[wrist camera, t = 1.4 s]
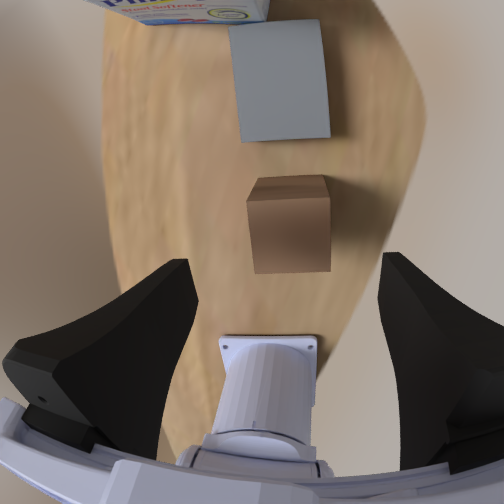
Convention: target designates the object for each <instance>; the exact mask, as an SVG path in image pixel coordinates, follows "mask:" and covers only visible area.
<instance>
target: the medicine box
mask: <svg viewBox="0 0 504 504" xmlns="http://www.w3.org/2000/svg"><path fill="white" fill-rule="evenodd" d="M84 1H87V2H90V3H93V4H96V5H98V6H101V7H104V8H106V9H109V10H111V11H114V12H116V13H119V14H122V15H124V16H127V17H129V18H131V19H134V20H136V21H138V22H140V23H143V24H145V25H159V24H183V23H216V24H241V25H245V24H253V23H262V22H267V16H268V10H269V4H270V0H84Z"/></svg>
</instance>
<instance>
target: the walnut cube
mask: <svg viewBox="0 0 504 504" xmlns="http://www.w3.org/2000/svg"><path fill="white" fill-rule="evenodd" d="M246 203H247V212H248V220H249V229H250V237H251V245H252V254H253V262H254V271H255V274H272V273H304V272H331V214H330V196H329V193H328V190H327V187H326V184H325V181H324V178H323V175H299V176H281V177H265V178H258V179H257V181H256V183H255V185H254V187H253V189H252V191H251V193H250V195H249V197H248V199H247V201H246Z"/></svg>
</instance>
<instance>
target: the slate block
mask: <svg viewBox="0 0 504 504" xmlns="http://www.w3.org/2000/svg"><path fill="white" fill-rule="evenodd" d="M228 30H229V38H230V47H231V56H232V65H233V73H234V82H235V91H236V100H237V109H238V117H239V126H240V135H241V143H244V142H255V141H268V140H284V139H303V138H331V136H330V120H329V106H328V94H327V83H326V73H325V63H324V54H323V45H322V37H321V30H320V22H319V19H304V20H285V21H272V22H262V23H253V24H245V25H238V26H231V27H228Z"/></svg>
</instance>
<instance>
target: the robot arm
mask: <svg viewBox="0 0 504 504" xmlns="http://www.w3.org/2000/svg"><path fill="white" fill-rule="evenodd" d="M198 302H199V300H198V297H197V293H196V289H195V285H194V282H193V278H192V274H191V270H190V266H189V262H188V259H172V260H170V261H169V262H167V263H166V264H164V265H163V266H161V267H160V268H158V269H157V270H156V271H154V272H153V273H151V274H150V275H149V276H147V277H146V278H145V279H143V280H142V281H141V282H139V283H138V284H136V285H135V286H134V287H132V288H131V289H129V290H128V291H126V292H125V293H123V294H122V295H120V296H119V297H118V298H116V299H115V300H113V301H111V302H110V303H108V304H106V305H105V306H103V307H101V308H99V309H98V310H96V311H94V312H92V313H90V314H88V315H86V316H84V317H82V318H80V319H78V320H76V321H74V322H71V323H69V324H67V325H64V326H62V327H59V328H56V329H54V330H51V331H48V332H45V333H42V334H38V335H35V336H31V337H27V338H24V339H20V340H18V341H17V342H16V343H15V345H14V346H13V347H12V349H11V350H10V351H9V353H8V354H7V355H6V357H5V358H4V359H3V362H2V365H3V369H4V371H5V373H6V375H7V377H8V378H9V379H10V381H11V382H12V383H13V384H14V386H15V387H16V388H17V389H18V390H19V392H20V393H21V394H22V395H23V396H24V397H25V399H26V400H27V401H28V402H29V403H30V404H29V406H28V407H27V409H26V408H24V407H23V406H22V405H20V404H18V403H16V402H14V401H12V400H10V399H8V398H6V397H3V398H2V399H1V401H0V464H1V465H3V466H4V467H5V468H7V469H8V470H9V471H11V472H12V473H13V474H15V475H16V476H18V477H19V478H21V479H22V480H24V481H25V482H27V483H28V484H30V485H32V486H33V487H35V488H37V489H38V490H40V491H42V492H44V493H45V494H47V495H48V496H50V497H52V498H54V499H56V500H57V501H59V502H61V503H63V504H504V326H502V325H500V324H498V323H496V322H494V321H492V320H490V319H488V318H487V317H485V316H483V315H481V314H479V313H477V312H476V311H474V310H473V309H471V308H469V307H468V306H466V305H465V304H463V303H462V302H460V301H459V300H457V299H456V298H455V297H453V296H452V295H450V294H449V293H448V292H447V291H445V290H444V289H443V288H441V287H440V286H439V285H438V284H436V283H435V282H434V281H433V280H431V279H430V278H429V277H428V276H427V275H426V274H424V273H423V272H422V271H421V270H420V269H419V268H417V267H416V266H415V265H414V264H413V263H412V262H411V261H409V260H408V259H407V258H406V257H405V256H403V255H402V254H401V253H399V252H385V253H383V258H382V268H381V275H380V283H379V291H378V305H379V311H380V317H381V323H382V326H383V330H384V333H385V337H386V341H387V344H388V348H389V351H390V355H391V359H392V363H393V366H394V371H395V376H396V383H397V392H398V400H399V415H400V438H401V439H400V442H401V444H400V446H401V450H400V471H396V472H390V473H381V474H372V475H361V476H348V477H334V473H333V471H332V469H331V468H330V467H329V466H328V464H327V463H326V462H325V461H324V460H316V447H314V446H310V443H311V407H313V406H314V404H315V387H316V365H317V338H316V337H315V336H221V337H220V339H219V345H220V350H221V354H222V358H223V362H224V366H225V370H226V375H227V376H226V380H225V383H224V387H223V391H222V395H221V398H220V402H219V406H218V410H217V413H216V417H215V421H214V425H213V428H212V432H211V434H208V433H206V434H205V436H204V440H203V443H202V446H200V445H191V446H190V447H189V448H187V449H186V450H184V451H183V452H182V453H181V454H180V456H179V457H178V459H177V461H176V464H175V465H174V464H169V463H165V462H160V461H156V457H157V448H158V440H159V434H160V428H161V422H162V417H163V412H164V407H165V403H166V398H167V394H168V390H169V387H170V383H171V379H172V376H173V373H174V370H175V367H176V365H177V362H178V360H179V357H180V355H181V352H182V350H183V347H184V345H185V343H186V340H187V338H188V335H189V333H190V330H191V328H192V325H193V322H194V319H195V315H196V311H197V306H198ZM224 345H227V346H224ZM310 345H313V346H312V347H310Z"/></svg>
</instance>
